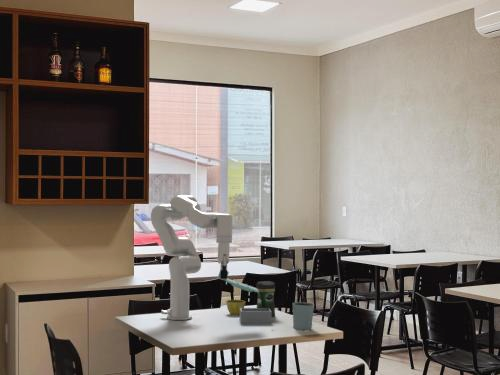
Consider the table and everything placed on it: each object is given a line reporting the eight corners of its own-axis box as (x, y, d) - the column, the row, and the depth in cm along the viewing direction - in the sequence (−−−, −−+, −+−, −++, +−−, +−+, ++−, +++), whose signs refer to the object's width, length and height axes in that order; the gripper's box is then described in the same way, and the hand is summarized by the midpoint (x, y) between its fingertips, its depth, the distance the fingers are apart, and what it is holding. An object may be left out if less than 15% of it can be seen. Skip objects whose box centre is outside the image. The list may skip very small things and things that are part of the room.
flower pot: (249, 315, 365) (249, 301, 365) (234, 317, 358) (234, 303, 359) (237, 312, 373) (237, 299, 373) (222, 314, 366) (222, 300, 366)
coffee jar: (269, 315, 366) (269, 279, 366) (277, 317, 359) (277, 281, 359) (253, 316, 361) (253, 280, 361) (261, 319, 354) (261, 282, 354)
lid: (217, 281, 327) (221, 270, 327) (216, 278, 338) (220, 267, 338) (257, 294, 329) (261, 283, 329) (255, 291, 340) (258, 281, 340)
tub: (240, 324, 338) (240, 311, 338) (239, 321, 348) (239, 308, 348) (271, 324, 339) (271, 311, 339) (269, 321, 349) (269, 308, 349)
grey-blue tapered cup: (288, 327, 332) (289, 302, 333) (307, 326, 336) (307, 301, 337) (298, 331, 323) (298, 305, 323) (317, 330, 327) (317, 304, 327)
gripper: (215, 238, 340) (214, 276, 340) (217, 240, 324) (216, 280, 324) (230, 238, 341) (230, 276, 341) (233, 240, 325) (232, 280, 325)
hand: (223, 277), depth 332 cm, fingers closed on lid, 2 cm apart
